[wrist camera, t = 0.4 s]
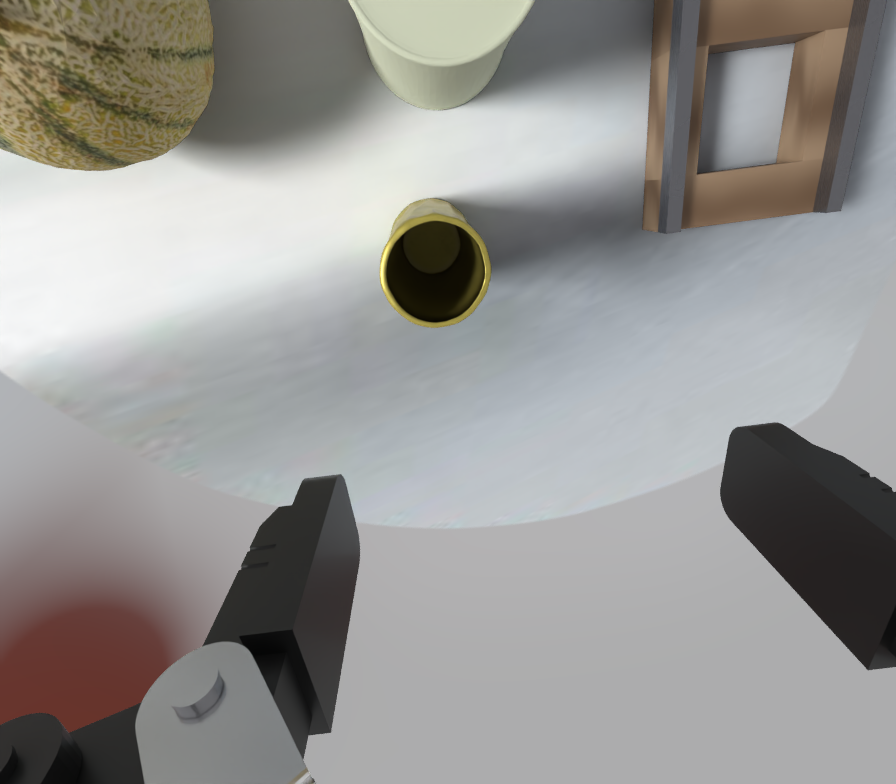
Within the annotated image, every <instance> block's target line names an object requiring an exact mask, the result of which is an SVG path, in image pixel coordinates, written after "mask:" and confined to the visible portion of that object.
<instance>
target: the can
mask: <svg viewBox="0 0 896 784" xmlns="http://www.w3.org/2000/svg"><path fill="white" fill-rule="evenodd" d="M348 1H349V3H350V5H351V7H352V8H353V10H354V12H355V14H356V17H357V19H358V21H359V24H360V27H361V29H362V32H363V38H364V42H365V46H366V50H367V53H368V56H369V58H370V61H371V63H372V65H373V67H374V69H375V70H376V72H377V74H378V75H379V77H380V78H381V80H382V81H383V82H384V84H385V85H386V86H387V87H388V88H389V89H390V90H391V91H392V92H393V93H394V94H395V95H396V96H398V97H399V98H401V99H402V100H404V101H406V102H407V103H409V104H411V105H414V106H416V107H419V108H423V109H428V110H445V109H450V108H454V107H457V106H459V105H462V104H464V103H466V102H467V101H469V100H471V99H472V98H473V97H475V96H476V95H477V94H478V93H479V92H480V91H482V90H483V88H484V87H485V86H486V85H487V84H488V82H489V81H490V80H491V78H492V77H493V75H494V73H495V72H496V70H497V68H498V66H499V64H500V61H501V58H502V56H503V53H504V50H505V48H506V46H507V44H508V43H509V41H510V39H511V37H512V36H513V34H514V32H515V31H516V30H517V29H518V27H519V26H520V25H521V24H522V22H523V21H524V19H525V18H526V16H527V15H528V13H529V11H530V9H531V8H532V6H533V4H534V2H535V0H348Z"/></svg>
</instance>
